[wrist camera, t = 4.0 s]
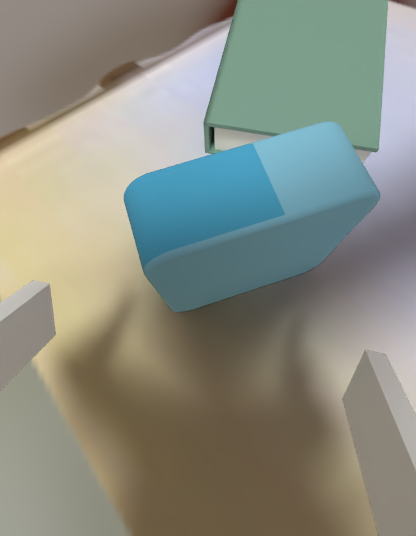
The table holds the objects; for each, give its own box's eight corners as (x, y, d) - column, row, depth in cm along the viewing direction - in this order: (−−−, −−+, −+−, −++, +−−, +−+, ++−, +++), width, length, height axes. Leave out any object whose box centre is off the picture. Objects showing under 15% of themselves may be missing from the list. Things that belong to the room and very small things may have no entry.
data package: (294, 222, 27) (350, 111, 15) (316, 269, 25) (396, 186, 14) (159, 264, 26) (113, 180, 14) (174, 316, 24) (136, 268, 13)
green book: (369, 31, 34) (388, -12, 30) (357, 179, 28) (378, 149, 24) (242, 16, 35) (245, -27, 31) (205, 154, 29) (203, 122, 26)
